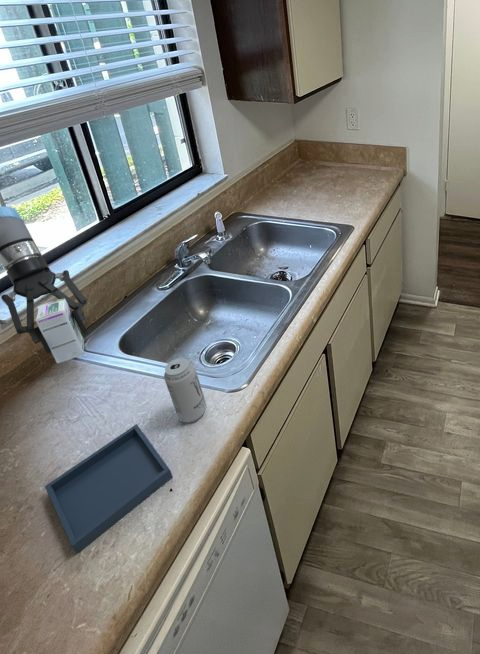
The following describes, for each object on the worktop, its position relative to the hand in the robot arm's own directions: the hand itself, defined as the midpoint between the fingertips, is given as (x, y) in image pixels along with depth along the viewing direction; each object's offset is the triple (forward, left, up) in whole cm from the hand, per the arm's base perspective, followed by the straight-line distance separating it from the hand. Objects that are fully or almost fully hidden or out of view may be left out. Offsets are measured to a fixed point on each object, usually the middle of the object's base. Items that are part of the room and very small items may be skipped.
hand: (67, 342), depth 106 cm
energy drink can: (+33, +12, -10) cm, 37 cm away
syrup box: (-4, 0, -6) cm, 7 cm away
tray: (+36, -6, -10) cm, 38 cm away
